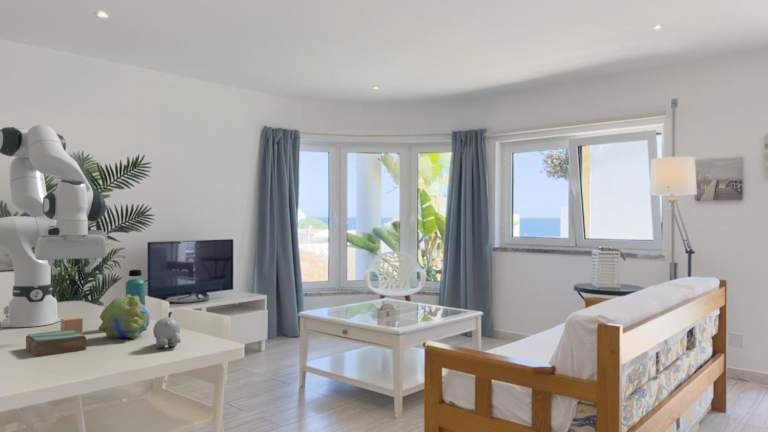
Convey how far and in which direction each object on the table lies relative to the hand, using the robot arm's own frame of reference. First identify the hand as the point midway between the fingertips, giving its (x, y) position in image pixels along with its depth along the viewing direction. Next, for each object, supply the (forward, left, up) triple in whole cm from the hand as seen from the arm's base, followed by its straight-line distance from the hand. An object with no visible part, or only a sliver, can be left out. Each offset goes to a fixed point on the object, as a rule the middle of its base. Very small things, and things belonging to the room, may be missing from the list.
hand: (72, 273), depth 174 cm
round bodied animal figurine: (+35, +16, -21) cm, 44 cm away
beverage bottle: (-4, +21, -21) cm, 30 cm away
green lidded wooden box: (+16, -8, -20) cm, 27 cm away
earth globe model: (+14, +12, -21) cm, 27 cm away
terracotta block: (0, 0, -20) cm, 20 cm away
